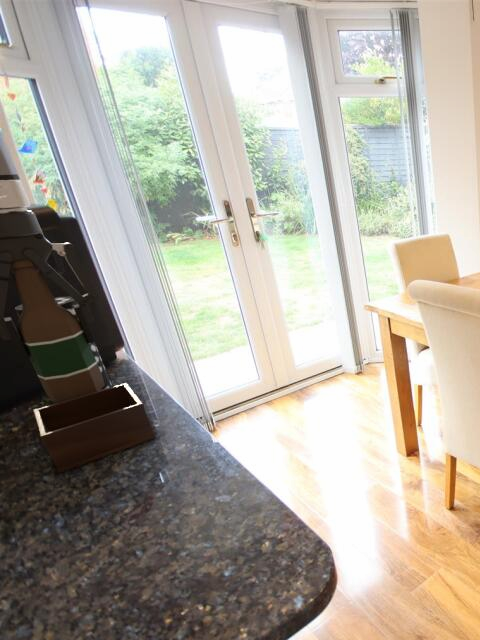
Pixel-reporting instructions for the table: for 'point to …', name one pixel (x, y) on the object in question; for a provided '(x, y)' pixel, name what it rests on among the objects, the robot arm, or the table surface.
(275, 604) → the table surface
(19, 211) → the robot arm
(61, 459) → the brown wooden open box
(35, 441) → the table surface
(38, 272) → the beer bottle
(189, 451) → the table surface
